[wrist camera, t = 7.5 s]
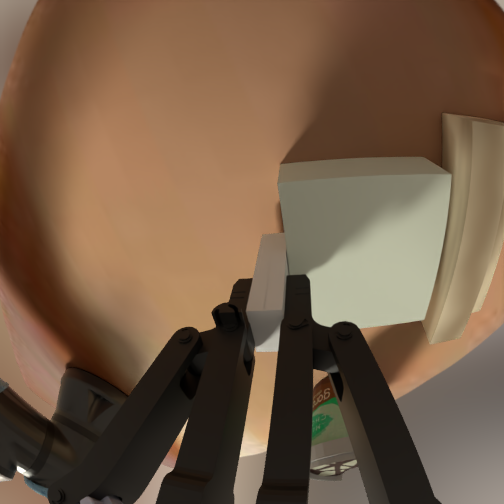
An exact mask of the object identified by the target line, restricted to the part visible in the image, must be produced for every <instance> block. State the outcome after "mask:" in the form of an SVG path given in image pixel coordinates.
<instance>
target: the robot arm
mask: <svg viewBox="0 0 504 504" xmlns="http://www.w3.org/2000/svg"><path fill="white" fill-rule="evenodd" d="M212 316H213V319H214V321H215V324H216V328H214V329H211V330H208V331H204V332H200V333H199V332H198V330H197V329H195V328H193V327H185V328H181V329H179V330H178V331H176V332H175V333H174V334H173V336H172V337H171V339H170V340H169V341H168V343H167V344H166V345H165V347H164V348H163V349H162V351H161V352H160V354H159V355H158V356H157V358H156V359H155V360H154V362H153V363H152V365H151V366H150V367H149V369H148V370H147V371H146V373H145V374H144V376H143V377H142V378H141V380H140V381H139V383H138V384H137V385H136V387H135V388H134V389H133V391H132V392H131V394H130V395H129V396H128V397H127V396H126V395H125V394H123V393H122V392H121V391H119V390H118V389H116V388H115V387H113V386H112V385H110V384H109V383H107V382H105V381H104V380H102V379H100V378H98V377H96V376H94V375H92V374H90V373H88V372H86V371H83V370H80V369H77V368H68V369H67V370H66V371H65V373H64V375H63V376H62V378H61V386H60V390H59V395H58V401H57V407H56V410H55V413H54V414H53V416H52V419H51V420H48V419H47V418H46V417H44V416H43V415H42V414H41V413H39V412H38V411H37V410H36V409H34V408H33V407H32V406H31V405H30V404H28V403H27V402H26V401H25V400H24V399H23V398H21V397H20V396H19V395H18V394H17V393H16V392H15V391H13V390H12V389H11V388H10V387H9V384H8V383H7V382H4V381H3V380H2V379H1V378H0V482H1V481H10V480H12V479H13V477H14V475H15V472H16V471H18V472H20V473H21V474H23V475H24V481H25V483H26V484H27V485H28V486H29V487H30V488H31V489H32V490H34V491H35V492H37V493H39V494H40V495H43V496H45V497H47V498H48V500H49V503H50V504H133V503H135V502H136V500H137V499H138V498H139V497H140V496H141V495H142V493H143V492H144V490H145V489H146V487H147V486H148V484H149V482H150V481H151V479H152V478H153V476H154V474H155V473H156V471H157V469H158V468H159V466H160V464H161V463H162V461H163V460H164V458H165V456H166V455H167V453H168V451H169V450H170V448H171V446H172V445H173V443H174V441H175V440H176V438H177V436H178V435H179V433H180V431H181V430H182V428H183V426H184V425H185V423H186V421H187V419H188V418H189V419H188V422H187V426H186V429H185V433H184V436H183V440H182V443H181V447H180V450H179V454H178V457H177V461H176V464H175V467H174V469H173V471H172V472H170V473H168V474H167V475H166V476H165V477H164V479H163V481H162V484H161V487H160V490H159V494H158V498H157V501H156V504H234V494H233V489H234V483H235V477H236V472H237V466H238V460H239V455H240V450H241V444H242V438H243V432H244V426H245V421H246V415H247V409H248V403H249V397H250V390H251V384H252V378H253V372H254V365H255V356H254V348H256V352H275V351H278V358H277V368H276V378H275V387H274V396H273V405H272V414H271V422H270V431H269V439H268V446H267V454H266V461H265V468H264V475H263V482H262V485H261V487H260V489H259V491H258V495H257V500H256V504H308V493H309V480H310V465H311V447H312V420H313V369H316V370H321V371H325V372H327V373H328V376H329V379H330V382H331V385H332V388H333V391H334V393H335V396H336V399H337V402H338V405H339V408H340V411H341V414H342V417H343V420H344V423H345V426H346V429H347V432H348V435H349V439H350V442H351V445H352V448H353V451H354V454H355V457H356V461H357V464H358V467H359V470H360V473H361V477H362V480H363V483H364V487H365V490H366V493H367V497H368V500H369V504H441V503H440V502H439V501H438V500H437V499H436V498H435V497H434V494H433V491H432V489H431V486H430V483H429V480H428V478H427V475H426V473H425V470H424V467H423V465H422V462H421V460H420V457H419V455H418V452H417V450H416V447H415V445H414V443H413V440H412V438H411V436H410V433H409V431H408V429H407V426H406V424H405V422H404V420H403V417H402V415H401V413H400V411H399V408H398V406H397V404H396V402H395V400H394V397H393V395H392V393H391V391H390V389H389V387H388V385H387V383H386V380H385V378H384V376H383V374H382V372H381V370H380V368H379V366H378V364H377V362H376V360H375V358H374V356H373V354H372V352H371V350H370V348H369V346H368V344H367V342H366V340H365V338H364V336H363V335H362V333H361V331H360V329H359V328H358V326H357V325H356V324H354V323H352V322H347V321H342V322H338V323H335V324H334V325H333V326H331V327H327V326H323V325H320V324H318V323H317V322H316V321H314V319H313V318H312V306H311V288H310V279H309V278H308V277H307V275H306V274H301V275H290V274H289V265H288V257H287V249H286V241H285V234H284V233H274V234H263V235H262V238H261V243H260V247H259V252H258V257H257V261H256V266H255V271H254V276H253V278H250V279H239V280H238V281H237V282H236V283H235V284H234V286H233V289H232V293H231V296H230V299H229V302H227V303H222V304H220V305H218V306H217V307H215V308H214V309H213V311H212Z"/></svg>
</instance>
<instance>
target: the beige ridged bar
mask: <svg viewBox="0 0 504 504" xmlns="http://www.w3.org/2000/svg"><path fill="white" fill-rule="evenodd" d="M442 169H444V170H446V171H447V172H449V173H450V174H452V177H451V189H450V200H449V208H448V216H447V223H446V230H445V236H444V242H443V247H442V252H441V257H440V262H439V267H438V271H437V275H436V279H435V284H434V287H433V291H432V295H431V299H430V302H429V306H428V309H427V312H426V316H425V319H424V320H421V322H422V325H423V327H424V330H425V333H426V335H427V338H428V341H429V343H430V344H435V343H440V342H445V341H450V340H455V339H459V338H461V336H462V333H463V331H464V329H465V327H466V324H467V322H468V320H469V317H470V315H471V313H473V312H478V311H480V309H481V307H482V304H483V302H484V299H485V297H486V294H487V292H488V289H489V286H490V283H491V281H492V278H493V275H494V272H495V268H496V265H497V262H498V259H499V255H500V252H501V248H502V244H503V241H504V122H500V121H495V120H490V119H484V118H478V117H472V116H465V115H457V114H448V113H442Z"/></svg>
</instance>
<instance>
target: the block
mask: <svg viewBox="0 0 504 504" xmlns="http://www.w3.org/2000/svg"><path fill="white" fill-rule="evenodd" d="M451 177H452V174H450V173H449V172H447V171H446V170H444V169H442V168H441V167H439V166H438V165H436V164H434V163H433V162H431V161H429V160H428V159H426V158H424V157H371V158H349V159H332V160H319V161H307V162H296V163H286V164H280V169H279V176H278V190H279V197H280V204H281V211H282V219H283V226H284V234H285V241H286V249H287V257H288V265H289V274H290V275H301V274H306V275H307V277H308V278H309V279H310V288H311V306H312V318H313V319H314V321H316V322H317V323H318V324H320V325H323V326H327V327H331V326H333V325H334V324H335V323H338V322H342V321H347V322H352V323H354V324H356V325H357V326H358V328H368V327H377V326H385V325H392V324H400V323H407V322H414V321H420V320H424V319H425V316H426V312H427V309H428V306H429V302H430V299H431V295H432V291H433V287H434V284H435V279H436V275H437V271H438V267H439V262H440V257H441V252H442V247H443V242H444V236H445V230H446V223H447V216H448V208H449V200H450V189H451Z"/></svg>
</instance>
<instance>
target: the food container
mask: <svg viewBox="0 0 504 504" xmlns="http://www.w3.org/2000/svg"><path fill="white" fill-rule="evenodd" d="M355 467H358V464H357V461H356V457H355V454H354V451H353V448H352V445H351V442H350V439H349V435H348V432H347V429H346V426H345V423H344V420H343V417H342V414H341V411H340V408H339V405H338V402H337V399H336V396H335V393H334V391H333V388H332V385H331V382H330V379H329V376H328V377H326V378H324V379H322V380H321V381H320V382H319V383H318V384H316V386H315V387H314V389H313V420H312V447H311V465H310V479H314V480H321V481H341V480H342V473H344V472H345V471H347V470H349V469H351V468H355Z"/></svg>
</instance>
